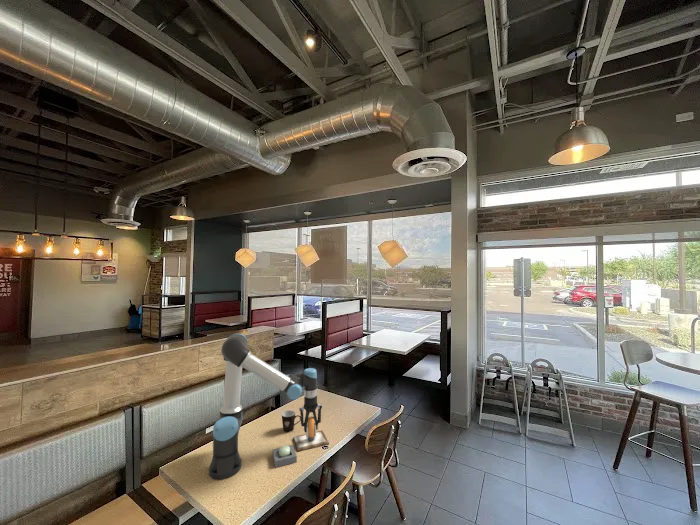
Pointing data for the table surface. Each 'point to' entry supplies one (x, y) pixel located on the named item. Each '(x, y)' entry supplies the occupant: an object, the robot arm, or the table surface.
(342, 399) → the table surface
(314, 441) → the board
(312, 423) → the marker
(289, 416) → the coffee mug
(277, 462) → the button housing
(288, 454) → the button
